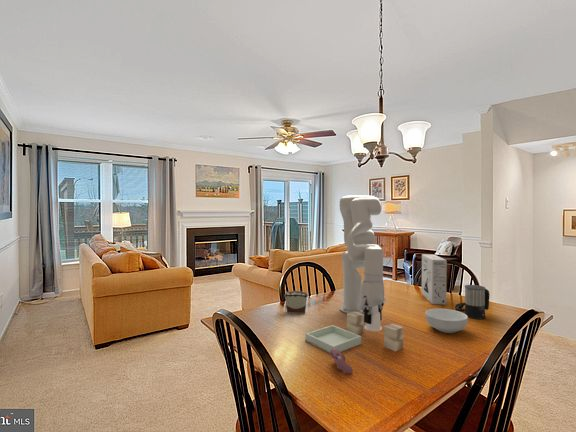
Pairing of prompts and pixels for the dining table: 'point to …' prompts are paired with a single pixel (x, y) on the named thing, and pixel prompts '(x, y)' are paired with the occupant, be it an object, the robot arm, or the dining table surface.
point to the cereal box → (434, 278)
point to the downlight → (374, 320)
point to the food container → (296, 301)
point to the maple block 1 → (355, 322)
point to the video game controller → (340, 361)
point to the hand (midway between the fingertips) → (372, 320)
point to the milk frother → (475, 301)
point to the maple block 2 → (393, 337)
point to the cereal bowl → (446, 320)
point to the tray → (333, 338)
